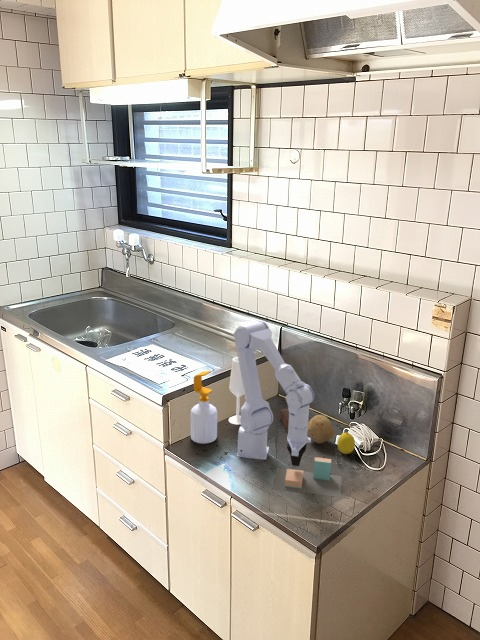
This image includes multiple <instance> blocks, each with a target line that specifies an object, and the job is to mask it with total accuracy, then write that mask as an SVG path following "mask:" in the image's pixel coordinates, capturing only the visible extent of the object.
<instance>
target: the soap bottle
mask: <svg viewBox="0 0 480 640" xmlns="http://www.w3.org/2000/svg"><path fill="white" fill-rule="evenodd" d="M211 373H212V371H211V370H205V371H200V372H199V373H198V374H196V375H194V376H193V391H194V392H195V393H198V394H199V395H200V396H199V397H198V403H197V404H195V405H194V406H193V407H192V408H191V409H190V438H191V440H192V441H193V442H194V443H197V444H202V445H203V444H210V443H213V442H214V441H216V440H217V437H218V409H217V407H216V406H214V405H213V404H211V403H210V398H209V396H208V395H209V394H211V393H212V392H213V389H212V388H211V389H210V388H208V387H205V386H203V384H202V379H203V378H202V377H204V376H207V375H208V374H211Z"/></svg>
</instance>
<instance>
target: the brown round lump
mask: <svg viewBox="0 0 480 640" xmlns="http://www.w3.org/2000/svg"><path fill="white" fill-rule="evenodd" d="M307 435H309V436H310V437H309V436H308V437H309V438H311V440H312V441H314V442H315V443H316V444H324V443H325V442H328V441H329V440H332V439H333V438H334V436H335V430H334V427H333V425H332V422H331V421H330V419H329V418H328V417H327V416H325V415H323V414H317V415H314V416H312V418H310V420H308V431H307Z"/></svg>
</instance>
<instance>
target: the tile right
mask: <svg viewBox="0 0 480 640" xmlns="http://www.w3.org/2000/svg"><path fill="white" fill-rule="evenodd" d="M331 470H332V459H331V458H327V457H326V458H323V457H316V456H315V457H314V462H313V472H312V473H313V478H314V479H322V480H330V475H331Z"/></svg>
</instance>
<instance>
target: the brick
mask: <svg viewBox="0 0 480 640" xmlns="http://www.w3.org/2000/svg"><path fill="white" fill-rule="evenodd" d="M279 418H280V422H281V424H282V426H283V427H284V429H285V430H286V432H287V433H288V426H289V410H288V407H287V408H281V409H280V410H279Z"/></svg>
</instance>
